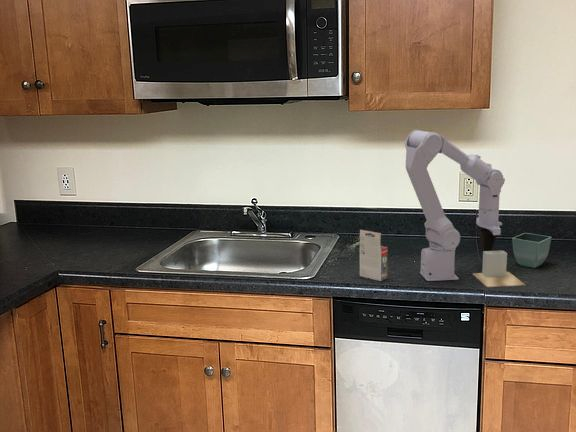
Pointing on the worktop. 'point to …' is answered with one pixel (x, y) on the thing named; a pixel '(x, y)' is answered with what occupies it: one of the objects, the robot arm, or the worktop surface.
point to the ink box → (372, 256)
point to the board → (499, 280)
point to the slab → (494, 263)
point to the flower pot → (531, 249)
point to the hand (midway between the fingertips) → (486, 252)
